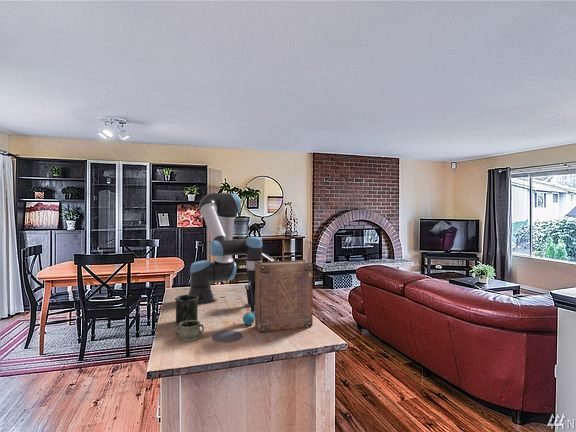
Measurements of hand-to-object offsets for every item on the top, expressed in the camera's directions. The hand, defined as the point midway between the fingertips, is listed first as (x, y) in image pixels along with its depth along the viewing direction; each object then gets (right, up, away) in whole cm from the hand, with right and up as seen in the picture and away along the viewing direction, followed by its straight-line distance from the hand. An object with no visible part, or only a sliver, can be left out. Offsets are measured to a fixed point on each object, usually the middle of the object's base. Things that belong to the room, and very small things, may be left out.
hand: (253, 317), depth 165 cm
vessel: (-25, -3, -21) cm, 33 cm away
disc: (-9, -2, -19) cm, 21 cm away
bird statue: (+2, -2, +33) cm, 33 cm away
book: (+15, -3, -6) cm, 16 cm away
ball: (-2, +1, -4) cm, 4 cm away
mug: (-32, -2, -3) cm, 32 cm away
